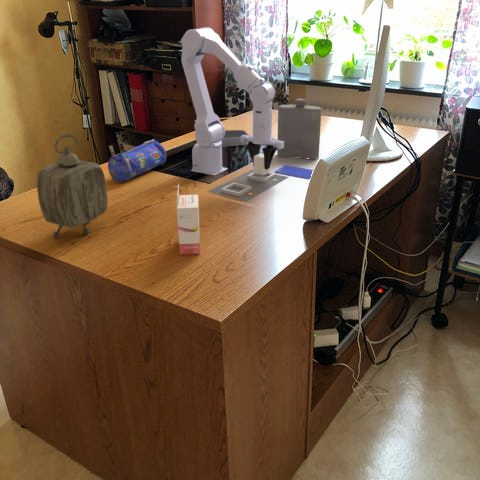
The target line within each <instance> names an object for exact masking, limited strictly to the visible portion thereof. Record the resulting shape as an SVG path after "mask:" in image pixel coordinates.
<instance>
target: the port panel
mask: <svg viewBox="0 0 480 480" xmlns="http://www.w3.org/2000/svg"><path fill="white" fill-rule="evenodd" d="M289 177H290V176H286V175H282V174H277V173H274V172H270V171H269V173H267V174H265V175H260V174H255V173H254V169H250V170H248V171H246V172H244V173H242V174H240V175H237V176H236V177H233V178H232V179H231V178H230V180H227V181H226V182H224V183H222V184H219V185H217V186H216V187H214V188H211V189H210V190H208V191H207V192H208V193H212V194H217V195H221V196H224V197H228V198H231V199H232V198H233V199H236V200H241V201H244V202H248V201H250V200H252V199H254V198H255V197H257V196H259V195H260V194H262V193H264V192H265V191H268V190H269V189H271V188H273V187H274V186H276V185H278V184H281V182H284V181H285V180H287V179H289Z"/></svg>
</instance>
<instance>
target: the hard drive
mask: <svg viewBox="0 0 480 480" xmlns="http://www.w3.org/2000/svg"><path fill="white" fill-rule="evenodd" d="M313 170H314V169H309V168H304V167H299V166H293V165H289V164H285V165H283V166H281V167H279V168H278V169H276V170H274V172H273V173H276V175H282V176H287V177H295V178H300V179H305V180H311V179H310V177H311V174H312V171H313Z"/></svg>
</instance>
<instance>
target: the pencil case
mask: <svg viewBox="0 0 480 480" xmlns="http://www.w3.org/2000/svg"><path fill="white" fill-rule="evenodd" d="M166 161H167V151H166V148H164V146H163V145H162V144H161V143H160V142H159V141H157V139H154V138H153V139H150V140H148V141H147V140H146V141H145V142H143V143H142V144H140V145H138V146H135V147H133V148H131V149H129V150H127V151H123V152H120V153H117V154H113V155H112V156H111V157H110V158H109V159H108V162H107V170H108V173H109V175H110V177H111V178H112V180H114V181H115V182H121V183H122V182H126V181H128V180H129V179H132V178H135V177H136V176H139V175H141V174H143V173H145V172H146V173H147V172H148V171H150V170H152V169H154V168H156V167H159V166H161V165H164V164H165V163H166Z"/></svg>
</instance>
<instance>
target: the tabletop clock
mask: <svg viewBox="0 0 480 480" xmlns="http://www.w3.org/2000/svg"><path fill="white" fill-rule="evenodd" d="M69 137H71V138H73V139H74V141H75V144H74V145H73V146H72V147H71V148H70V146H67V145H66V146H65V147H64V150H59V149H58V148H57V147H58V145H59V144H58V143H59V142H60V141H61V140H63V139H65V138H69ZM78 142H79V141H78V138H77V136H76V135H74V134H73V133H66V134H62V135H61V136H59V137H58V138H57V139H56V140H55V142H54V150H55V151H56V152H57V153H58V154H61V155H59V157H58V160H57V161H55V162H53V163H51V164H49V165H47V166H45V167H44V168H42V169H40V171H38V172H37V177H36V190H37V199H38V204H39V207H40V210H41V214H42V216H43V218H44V220H45V221H46V222H48V223H51V224H55V225H58V228H57V230H56V231H54V232H53V233H52V236H53V238H54V239H59V237H60V235H61V234H60V232H61V230H63V228H64V227H65V228H71V229H73V228H76V227H79V226H83V230H82V232H83V235H88V234H90V229H89V228H87V226H86V223H90V222H91V221H93V220H95V219H97V218H98V217H100V216H102V215H103V214H104V213H106V211H107V209H108V191H107V189H108V188H107V184H106V178H105V177H106V176H105V174H104V171H103V168H102V167H101V166H100V164H99V163H98V162H97V163H96V162H91V161H87V160H82V159H81V160H80V158H79V157H78V155H77V154H75V153H73V152H72V151H73V150H75V149H76V148H77V146H78V144H79V143H78Z"/></svg>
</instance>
